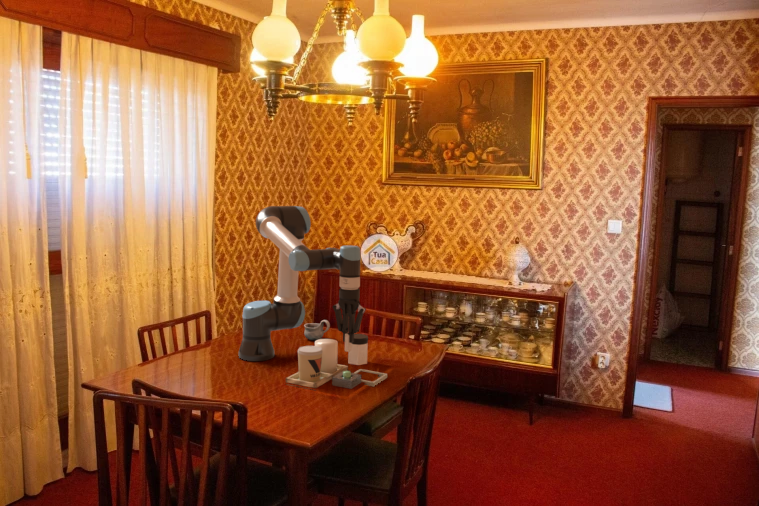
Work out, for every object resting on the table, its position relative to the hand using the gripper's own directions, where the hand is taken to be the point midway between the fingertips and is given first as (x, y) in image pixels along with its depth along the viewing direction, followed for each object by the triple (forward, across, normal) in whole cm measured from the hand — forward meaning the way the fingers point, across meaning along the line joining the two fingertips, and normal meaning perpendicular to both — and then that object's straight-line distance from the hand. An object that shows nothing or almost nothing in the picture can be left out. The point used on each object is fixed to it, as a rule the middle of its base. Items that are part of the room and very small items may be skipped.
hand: (348, 350), depth 225 cm
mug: (+13, -43, +51) cm, 68 cm away
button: (+12, 0, 0) cm, 12 cm away
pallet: (+14, -14, +3) cm, 20 cm away
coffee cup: (+13, -14, -3) cm, 20 cm away
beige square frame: (+14, +3, +11) cm, 18 cm away
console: (+14, 0, 0) cm, 14 cm away
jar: (+14, -9, +27) cm, 31 cm away
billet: (+13, -14, +9) cm, 21 cm away
